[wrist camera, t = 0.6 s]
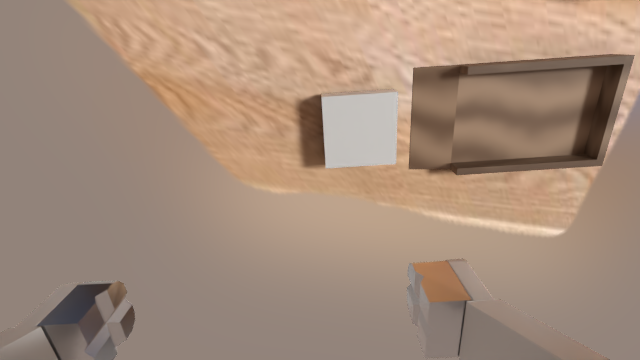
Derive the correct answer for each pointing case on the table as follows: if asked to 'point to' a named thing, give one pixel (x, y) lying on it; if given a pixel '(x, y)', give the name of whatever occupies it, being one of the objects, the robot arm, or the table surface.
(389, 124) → the grey square tile
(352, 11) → the table surface
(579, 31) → the table surface
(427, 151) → the dock
